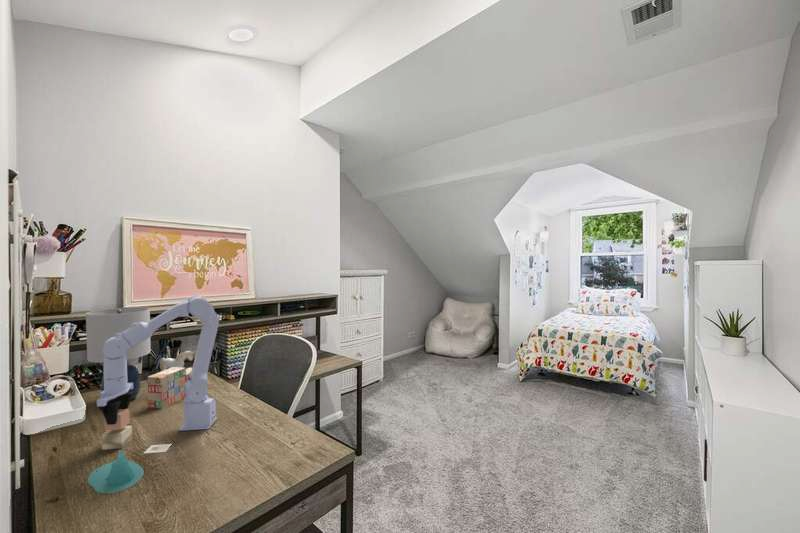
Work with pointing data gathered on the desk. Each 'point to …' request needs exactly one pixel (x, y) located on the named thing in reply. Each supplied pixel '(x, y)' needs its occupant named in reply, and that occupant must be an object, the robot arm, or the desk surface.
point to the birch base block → (116, 438)
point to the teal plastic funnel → (116, 475)
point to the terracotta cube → (119, 420)
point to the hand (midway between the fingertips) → (116, 420)
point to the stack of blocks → (167, 387)
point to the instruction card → (157, 448)
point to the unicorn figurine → (175, 360)
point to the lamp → (107, 326)
